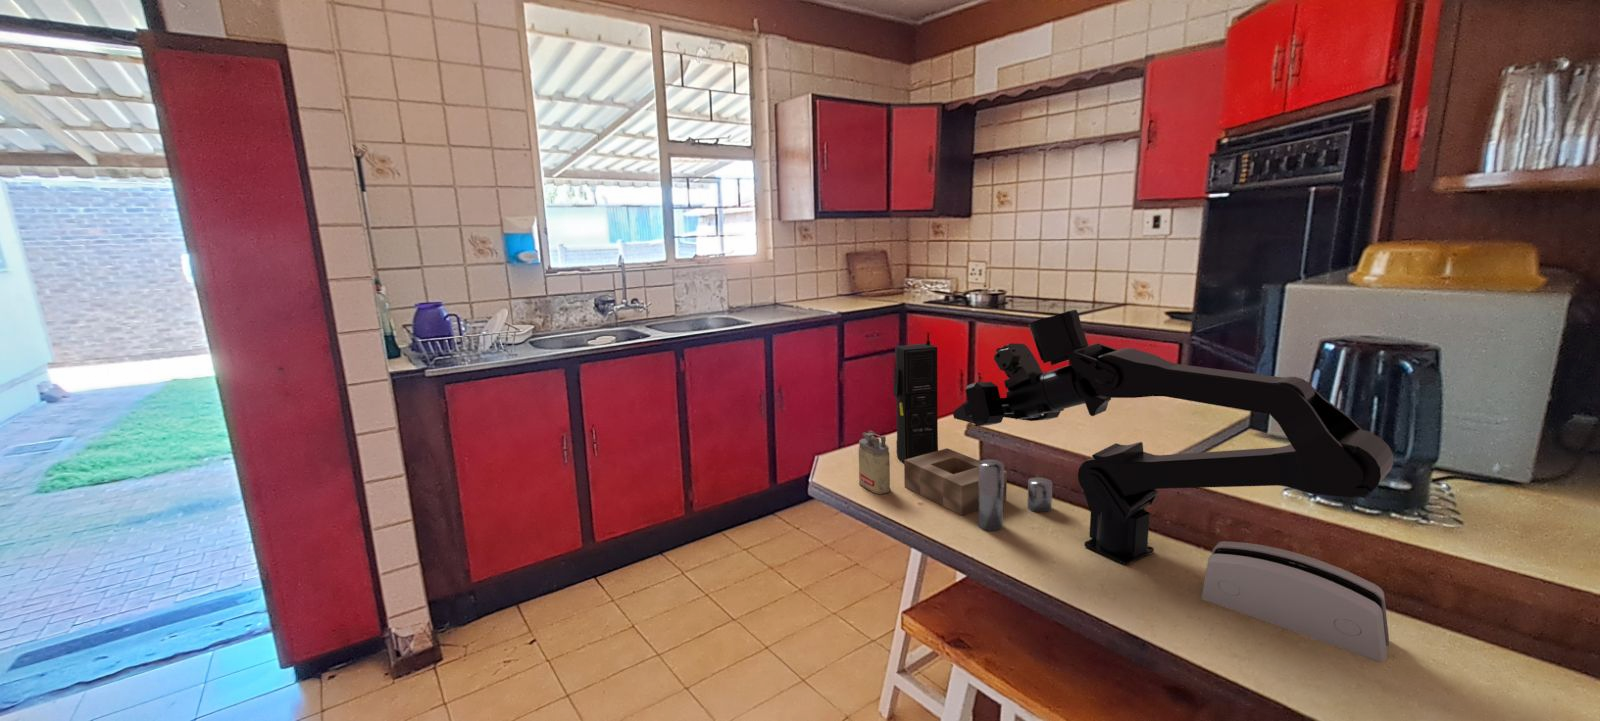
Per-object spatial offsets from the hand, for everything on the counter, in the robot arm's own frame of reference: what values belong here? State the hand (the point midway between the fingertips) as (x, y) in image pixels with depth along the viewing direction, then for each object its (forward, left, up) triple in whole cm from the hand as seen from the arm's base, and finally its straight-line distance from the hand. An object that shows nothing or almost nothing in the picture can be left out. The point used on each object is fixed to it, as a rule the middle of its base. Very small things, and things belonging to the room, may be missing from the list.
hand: (972, 413), depth 104 cm
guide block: (+3, +1, -15) cm, 15 cm away
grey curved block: (-44, -4, -15) cm, 47 cm away
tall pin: (-9, +5, -15) cm, 18 cm away
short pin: (-9, -6, -15) cm, 18 cm away
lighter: (+13, +11, -15) cm, 22 cm away
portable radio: (+19, -4, -15) cm, 24 cm away
